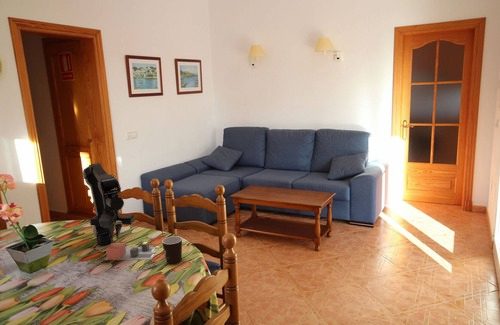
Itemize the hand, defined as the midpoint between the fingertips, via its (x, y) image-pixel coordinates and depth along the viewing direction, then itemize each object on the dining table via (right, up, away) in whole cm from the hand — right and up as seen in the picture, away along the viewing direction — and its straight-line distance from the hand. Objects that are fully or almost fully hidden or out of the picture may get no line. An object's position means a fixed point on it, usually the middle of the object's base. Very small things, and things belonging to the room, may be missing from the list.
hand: (115, 237), depth 171 cm
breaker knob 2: (+12, -7, +6) cm, 15 cm away
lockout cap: (0, -9, +2) cm, 9 cm away
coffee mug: (+27, -9, -2) cm, 29 cm away
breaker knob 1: (+9, -8, +1) cm, 12 cm away
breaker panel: (+7, -9, +4) cm, 12 cm away
